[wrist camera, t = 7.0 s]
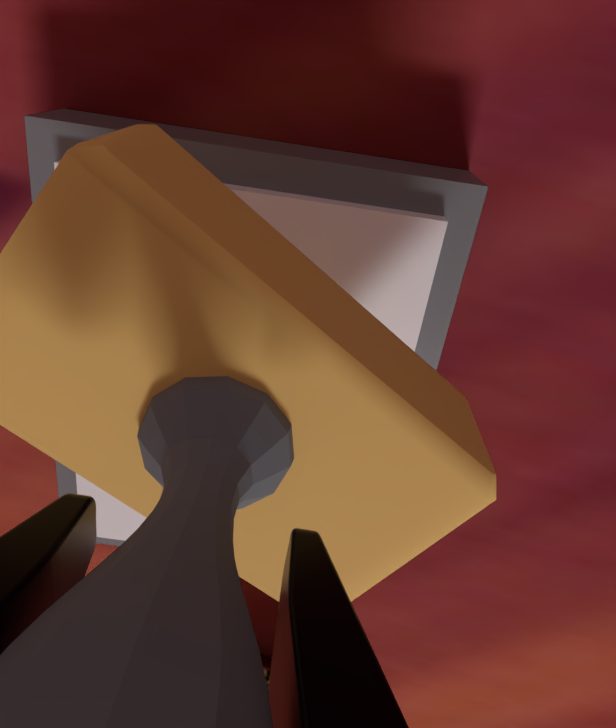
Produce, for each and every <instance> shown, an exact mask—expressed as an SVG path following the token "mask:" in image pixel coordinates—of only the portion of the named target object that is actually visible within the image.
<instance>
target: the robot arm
mask: <svg viewBox="0 0 616 728" xmlns="http://www.w3.org/2000/svg"><path fill="white" fill-rule="evenodd" d="M96 537H97V531H96V502H95V499H94V498H93V497H91V496H86V495H80V494H73V493H68V494H65V495H63V496H61V497H60V498H58V499H57V500H55V501H54V502H52V503H51V504H49V505H48V506H46V507H45V508H43V509H42V510H40V511H39V512H37V513H36V514H34V515H33V516H31V517H30V518H28V519H27V520H25V521H24V522H22V523H21V524H19V525H18V526H16V527H15V528H13V529H12V530H10V531H9V532H7V533H6V534H4V535H3V536H1V537H0V655H1V654H2V653H3V651H4V650H5V649H6V648H7V647H8V646H9V645H10V644H11V643H12V642H13V641H14V640H15V639H16V638H17V637H18V636H19V635H20V634H21V633H22V632H23V631H24V630H25V629H26V628H28V627H29V626H30V625H31V624H32V623H33V622H34V621H35V620H36V619H37V618H38V617H39V616H40V615H41V614H42V613H43V612H44V611H46V610H47V609H48V608H49V607H50V606H51V605H53V604H54V603H55V602H56V601H57V600H58V599H59V598H61V597H62V596H63V595H64V594H65V593H66V592H67V591H69V590H70V589H71V588H72V587H73V586H74V585H76V584H77V583H78V582H79V581H80V580H81V579H83V578H84V576H85V573H86V571H87V568H88V565H89V562H90V560H91V557H92V554H93V551H94V548H95V544H96ZM269 703H270V710H271V716H272V723H273V728H409V727H408V725H407V723H406V721H405V719H404V716H403V714H402V712H401V710H400V708H399V706H398V703H397V701H396V699H395V697H394V695H393V693H392V690H391V688H390V686H389V684H388V682H387V679H386V677H385V675H384V673H383V671H382V669H381V666H380V664H379V662H378V660H377V658H376V656H375V653H374V651H373V649H372V647H371V645H370V642H369V640H368V638H367V636H366V634H365V632H364V629H363V627H362V625H361V623H360V621H359V619H358V616H357V614H356V612H355V610H354V608H353V605H352V603H351V601H350V599H349V597H348V595H347V592H346V590H345V588H344V586H343V584H342V582H341V579H340V577H339V575H338V573H337V571H336V568H335V566H334V564H333V562H332V560H331V558H330V555H329V553H328V551H327V549H326V547H325V545H324V542H323V540H322V538H321V536H320V534H319V533H318V532H317V531H312V530H306V529H300V528H295V529H293V530H292V531H291V535H290V540H289V545H288V550H287V555H286V560H285V565H284V570H283V577H282V584H281V592H280V600H279V607H278V615H277V623H276V630H275V638H274V646H273V654H272V661H271V671H270V686H269Z"/></svg>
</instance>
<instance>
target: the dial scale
mask: <svg viewBox="0 0 616 728" xmlns="http://www.w3.org/2000/svg"><path fill="white" fill-rule="evenodd" d="M24 117H25V128H26V139H27V150H28V162H29V173H30V184H31V195H32V204H33V202H34V201H35V199H36V198H37V196H38V195H39V193H40V191H41V190H42V188H43V187H44V185H45V184H46V182H47V181H48V179H49V178H50V176H51V174H52V173H53V171H54V170H55V168H56V167H57V165H58V164H59V162H60V160H61V159H62V157H63V156H64V154H65V153H66V151H67V150H68V149H70V148H71V147H73V146H74V145H76V144H77V143H80V142H83V141H86V140H89V139H92V138H96V137H99V136H102V135H105V134H108V133H111V132H114V131H117V130H120V129H123V128H127V127H130V126H133V125H136V124H156V125H157V126H158V127H160V128H161V129H162V130H163V131H164V132H165V133H167V134H168V135H169V136H170V137H171V138H172V139H173V140H175V141H176V142H177V143H178V144H179V145H180V146H181V147H182V148H184V149H185V150H186V151H187V152H188V153H189V154H190V155H192V156H193V157H194V158H195V159H196V160H197V161H198V162H200V163H201V164H202V165H203V166H204V167H205V168H206V169H207V170H209V171H210V172H211V173H212V174H213V175H214V176H215V177H217V178H218V179H219V180H220V181H221V182H222V183H223V184H225V185H226V186H227V187H228V188H229V189H230V190H231V191H232V192H234V193H235V194H236V195H237V196H238V197H239V198H240V199H242V200H243V201H244V202H245V203H246V204H247V205H248V206H249V207H251V208H252V209H253V210H254V211H255V212H256V213H257V214H259V215H260V216H261V217H262V218H263V219H264V220H265V221H267V222H268V223H269V224H270V225H271V226H272V227H273V228H274V229H276V230H277V231H278V232H279V233H280V234H281V235H282V236H284V237H285V238H286V239H287V240H288V241H289V242H290V243H292V244H293V245H294V246H295V247H296V248H297V249H298V250H299V251H301V252H302V253H303V254H304V255H305V256H306V257H307V258H309V259H310V260H311V261H312V262H313V263H314V264H315V265H317V266H318V267H319V268H320V269H321V270H322V271H323V272H324V273H326V274H327V275H328V276H329V277H330V278H331V279H332V280H334V281H335V282H336V283H337V284H338V285H339V286H340V287H341V288H343V289H344V290H345V291H346V292H347V293H348V294H349V295H351V296H352V297H353V298H354V299H355V300H356V301H357V302H359V303H360V304H361V305H362V306H363V307H364V308H365V309H366V310H368V311H369V312H370V313H371V314H372V315H373V316H374V317H376V318H377V319H378V320H379V321H380V322H381V323H382V324H384V325H385V326H386V327H387V328H388V329H389V330H390V331H391V332H393V333H394V334H395V335H396V336H397V337H398V338H399V339H401V340H402V341H403V342H404V343H405V344H406V345H407V346H408V347H410V348H411V349H412V350H413V351H414V352H415V353H416V354H418V355H419V356H420V357H421V358H422V359H423V360H424V361H426V362H427V363H428V364H429V365H430V366H431V367H432V368H433V369H435V370H437V366H438V363H439V359H440V356H441V352H442V349H443V345H444V342H445V338H446V335H447V331H448V327H449V324H450V320H451V317H452V313H453V310H454V306H455V303H456V299H457V296H458V292H459V289H460V285H461V281H462V278H463V274H464V271H465V267H466V264H467V260H468V257H469V253H470V250H471V246H472V242H473V239H474V235H475V232H476V228H477V225H478V221H479V218H480V214H481V211H482V207H483V203H484V200H485V196H486V193H487V189H488V186H487V185H486V184H485V183H483V182H482V181H481V180H480V179H478V178H477V177H476V176H475V175H474V174H472V173H471V172H470V171H467V170H461V169H454V168H448V167H441V166H435V165H428V164H422V163H415V162H409V161H402V160H396V159H389V158H383V157H376V156H370V155H363V154H357V153H350V152H344V151H337V150H331V149H324V148H318V147H311V146H305V145H298V144H292V143H285V142H279V141H272V140H266V139H259V138H253V137H246V136H240V135H233V134H227V133H220V132H214V131H207V130H201V129H194V128H188V127H181V126H175V125H168V124H162V123H155V122H149V121H142V120H136V119H129V118H123V117H116V116H110V115H103V114H96V113H90V112H83V111H77V110H70V109H59V110H53V111H47V112H42V113H36V114H31V115H25V116H24ZM56 471H57V483H58V494H59V498H60V497H61V496H63V495H65V494H68V493H73V494H80V495H86V496H91V497H93V498H94V499H95V502H96V531H97V537H96V543H100V544H108V545H115V546H121V545H122V544H123V543H124V542H125V541H126V540H127V539H128V538H129V537H130V536H131V535H132V534H133V533H134V532H135V531H136V530H137V529H138V528H139V527H140V525H141V524H142V523H143V522H144V521H145V519H146V517H145V516H143V515H141V514H140V513H138V512H137V511H135V510H134V509H132V508H130V507H129V506H127V505H126V504H124V503H123V502H121V501H119V500H118V499H116V498H115V497H113V496H112V495H110V494H108V493H107V492H105V491H104V490H102V489H101V488H99V487H97V486H96V485H94V484H93V483H91V482H89V481H88V480H86V479H85V478H83V477H82V476H80V475H78V474H77V473H75V472H74V471H72V470H71V469H69V468H67V467H66V466H64V465H63V464H61V463H60V462H58V461H56Z"/></svg>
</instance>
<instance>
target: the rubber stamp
mask: <svg viewBox="0 0 616 728" xmlns="http://www.w3.org/2000/svg"><path fill="white" fill-rule="evenodd" d="M0 425H1V426H3V427H4V428H6V429H8V430H9V431H11V432H12V433H14V434H16V435H17V436H19V437H20V438H22V439H23V440H25V441H27V442H28V443H30V444H31V445H33V446H34V447H36V448H38V449H39V450H41V451H42V452H44V453H45V454H47V455H49V456H50V457H52V458H53V459H55V460H56V461H58V462H60V463H61V464H63V465H64V466H66V467H67V468H69V469H71V470H72V471H74V472H75V473H77V474H78V475H80V476H82V477H83V478H85V479H86V480H88V481H89V482H91V483H93V484H94V485H96V486H97V487H99V488H101V489H102V490H104V491H105V492H107V493H108V494H110V495H112V496H113V497H115V498H116V499H118V500H119V501H121V502H123V503H124V504H126V505H127V506H129V507H130V508H132V509H134V510H135V511H137V512H138V513H140V514H141V515H143V516H145V517H146V519H145V521H144V522H143V523H142V524H141V525H140V527H139V528H138V529H137V530H136V531H135V532H134V533H133V534H132V535H131V536H130V537H129V538H128V539H127V540H126V541H125V542H124V543H123V544H122V545H121V546H120V547H118V548H117V549H116V550H115V551H114V552H113V553H112V554H110V555H109V556H108V557H107V558H106V559H105V560H104V561H103V562H101V563H100V564H99V565H98V566H97V567H96V568H94V569H93V570H92V571H91V572H90V573H89V574H87V575H86V576H85V577H84V578H83V579H81V580H80V581H79V582H78V583H77V584H76V585H74V586H73V587H72V588H71V589H70V590H69V591H67V592H66V593H65V594H64V595H63V596H62V597H61V598H59V599H58V600H57V601H56V602H55V603H54V604H53V605H51V606H50V607H49V608H48V609H47V610H46V611H44V612H43V613H42V614H41V615H40V616H39V617H38V618H37V619H36V620H35V621H34V622H33V623H32V624H31V625H30V626H29V627H28V628H26V629H25V630H24V631H23V632H22V633H21V634H20V635H19V636H18V637H17V638H16V639H15V640H14V641H13V642H12V643H11V644H10V645H9V646H8V647H7V648H6V649H5V650H4V651H3V653H2V654H1V655H0V728H273V723H272V716H271V710H270V703H269V696H268V689H267V684H266V679H265V674H264V670H263V665H262V660H261V656H260V651H259V647H258V644H257V640H256V636H255V632H254V629H253V625H252V621H251V618H250V614H249V611H248V607H247V604H246V601H245V597H244V594H243V590H242V586H241V582H240V579H239V577H241V578H242V579H244V580H245V581H247V582H248V583H250V584H252V585H253V586H255V587H256V588H258V589H259V590H261V591H263V592H264V593H266V594H267V595H269V596H270V597H272V598H274V599H275V600H277V601H278V602H279V600H280V592H281V584H282V577H283V570H284V565H285V560H286V555H287V550H288V545H289V540H290V535H291V531H292V530H293V529H295V528H300V529H306V530H312V531H317V532H318V533H319V534H320V536H321V538H322V540H323V542H324V545H325V547H326V549H327V551H328V553H329V555H330V558H331V560H332V562H333V564H334V566H335V568H336V571H337V573H338V575H339V577H340V579H341V582H342V584H343V586H344V588H345V590H346V592H347V595H348V597H349V599H350V601H353V600H354V599H356V598H357V597H358V596H360V595H361V594H363V593H364V592H366V591H367V590H368V589H370V588H371V587H373V586H374V585H376V584H377V583H378V582H380V581H381V580H383V579H384V578H385V577H387V576H388V575H390V574H391V573H393V572H394V571H395V570H397V569H398V568H400V567H401V566H403V565H404V564H405V563H407V562H408V561H410V560H411V559H413V558H414V557H415V556H417V555H418V554H420V553H421V552H422V551H424V550H425V549H427V548H428V547H430V546H431V545H432V544H434V543H435V542H437V541H438V540H440V539H441V538H442V537H444V536H445V535H447V534H448V533H449V532H451V531H452V530H454V529H455V528H457V527H458V526H459V525H461V524H462V523H464V522H465V521H467V520H468V519H469V518H471V517H472V516H474V515H475V514H476V513H478V512H479V511H481V510H482V509H484V508H485V507H486V506H488V505H489V504H491V503H492V502H494V501H495V500H496V473H495V470H494V468H493V465H492V462H491V460H490V457H489V455H488V452H487V450H486V447H485V444H484V442H483V439H482V437H481V434H480V432H479V429H478V427H477V424H476V421H475V419H474V416H473V414H472V411H471V409H470V406H469V404H468V401H467V398H466V397H465V396H464V395H463V394H462V393H461V392H460V391H458V390H457V389H456V388H455V387H454V386H453V385H452V384H451V383H449V382H448V381H447V380H446V379H445V378H444V377H443V376H441V375H440V374H439V373H438V372H437V371H436V370H435V369H433V368H432V367H431V366H430V365H429V364H428V363H427V362H426V361H424V360H423V359H422V358H421V357H420V356H419V355H418V354H416V353H415V352H414V351H413V350H412V349H411V348H410V347H408V346H407V345H406V344H405V343H404V342H403V341H402V340H401V339H399V338H398V337H397V336H396V335H395V334H394V333H393V332H391V331H390V330H389V329H388V328H387V327H386V326H385V325H384V324H382V323H381V322H380V321H379V320H378V319H377V318H376V317H374V316H373V315H372V314H371V313H370V312H369V311H368V310H366V309H365V308H364V307H363V306H362V305H361V304H360V303H359V302H357V301H356V300H355V299H354V298H353V297H352V296H351V295H349V294H348V293H347V292H346V291H345V290H344V289H343V288H341V287H340V286H339V285H338V284H337V283H336V282H335V281H334V280H332V279H331V278H330V277H329V276H328V275H327V274H326V273H324V272H323V271H322V270H321V269H320V268H319V267H318V266H317V265H315V264H314V263H313V262H312V261H311V260H310V259H309V258H307V257H306V256H305V255H304V254H303V253H302V252H301V251H299V250H298V249H297V248H296V247H295V246H294V245H293V244H292V243H290V242H289V241H288V240H287V239H286V238H285V237H284V236H282V235H281V234H280V233H279V232H278V231H277V230H276V229H274V228H273V227H272V226H271V225H270V224H269V223H268V222H267V221H265V220H264V219H263V218H262V217H261V216H260V215H259V214H257V213H256V212H255V211H254V210H253V209H252V208H251V207H249V206H248V205H247V204H246V203H245V202H244V201H243V200H242V199H240V198H239V197H238V196H237V195H236V194H235V193H234V192H232V191H231V190H230V189H229V188H228V187H227V186H226V185H225V184H223V183H222V182H221V181H220V180H219V179H218V178H217V177H215V176H214V175H213V174H212V173H211V172H210V171H209V170H207V169H206V168H205V167H204V166H203V165H202V164H201V163H200V162H198V161H197V160H196V159H195V158H194V157H193V156H192V155H190V154H189V153H188V152H187V151H186V150H185V149H184V148H182V147H181V146H180V145H179V144H178V143H177V142H176V141H175V140H173V139H172V138H171V137H170V136H169V135H168V134H167V133H165V132H164V131H163V130H162V129H161V128H160V127H158V126H157V125H156V124H136V125H133V126H130V127H127V128H123V129H120V130H117V131H114V132H111V133H108V134H105V135H102V136H99V137H96V138H92V139H89V140H86V141H83V142H80V143H77V144H76V145H74V146H73V147H71V148H70V149H68V150H67V151H66V153H65V154H64V156H63V157H62V159H61V160H60V162H59V164H58V165H57V167H56V168H55V170H54V171H53V173H52V174H51V176H50V178H49V179H48V181H47V182H46V184H45V185H44V187H43V188H42V190H41V191H40V193H39V195H38V196H37V198H36V199H35V201H34V202H33V204H32V205H31V207H30V209H29V210H28V212H27V213H26V215H25V216H24V218H23V219H22V221H21V222H20V224H19V226H18V227H17V229H16V230H15V232H14V233H13V235H12V236H11V238H10V239H9V241H8V243H7V244H6V246H5V247H4V249H3V250H2V252H1V253H0Z"/></svg>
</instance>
